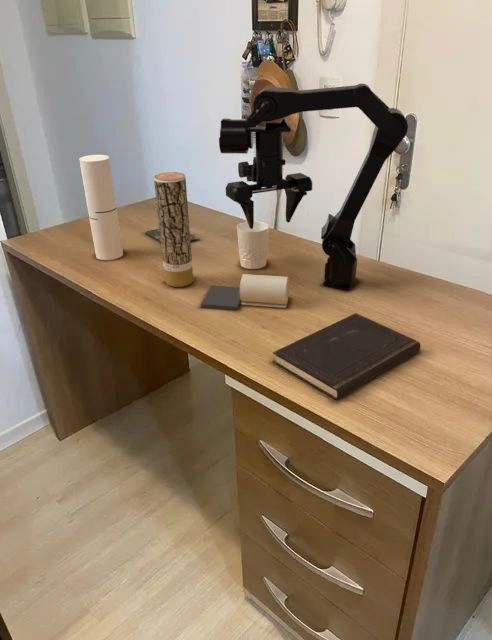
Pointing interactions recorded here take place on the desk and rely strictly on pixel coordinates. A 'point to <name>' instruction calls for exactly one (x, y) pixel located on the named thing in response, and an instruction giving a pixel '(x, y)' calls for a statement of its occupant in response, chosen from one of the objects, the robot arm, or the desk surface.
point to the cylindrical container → (101, 206)
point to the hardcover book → (345, 354)
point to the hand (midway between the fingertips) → (269, 225)
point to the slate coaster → (222, 298)
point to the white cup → (253, 244)
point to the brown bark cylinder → (174, 228)
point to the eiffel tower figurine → (157, 234)
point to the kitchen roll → (264, 290)
